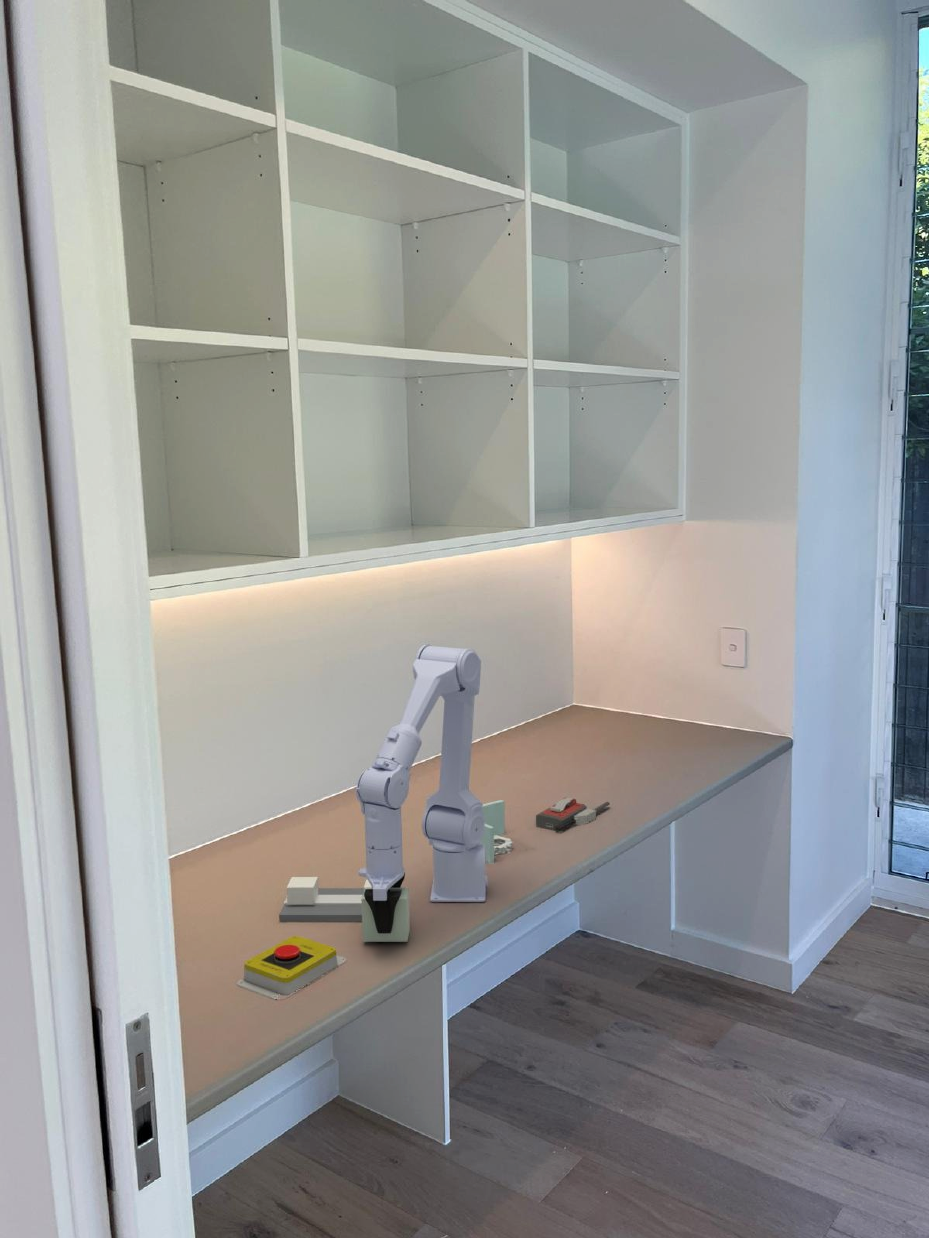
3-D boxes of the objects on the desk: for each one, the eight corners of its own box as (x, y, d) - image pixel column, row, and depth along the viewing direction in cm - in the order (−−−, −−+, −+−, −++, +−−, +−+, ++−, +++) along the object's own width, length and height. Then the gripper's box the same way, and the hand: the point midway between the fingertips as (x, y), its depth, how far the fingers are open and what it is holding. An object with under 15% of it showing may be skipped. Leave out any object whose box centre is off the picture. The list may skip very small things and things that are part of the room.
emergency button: (232, 959, 154) (303, 921, 166) (234, 987, 154) (304, 947, 167) (279, 975, 149) (348, 935, 161) (280, 1005, 149) (349, 963, 161)
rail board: (400, 894, 185) (399, 869, 185) (393, 921, 174) (393, 895, 174) (292, 894, 186) (291, 869, 185) (279, 921, 175) (278, 895, 174)
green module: (409, 928, 170) (408, 886, 169) (407, 941, 166) (406, 898, 165) (366, 928, 170) (365, 886, 169) (362, 941, 166) (361, 898, 165)
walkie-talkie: (568, 837, 213) (612, 810, 229) (568, 816, 212) (613, 790, 229) (530, 829, 218) (577, 803, 234) (530, 809, 217) (577, 784, 234)
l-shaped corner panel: (490, 866, 199) (490, 828, 198) (453, 848, 209) (453, 811, 208) (539, 852, 206) (539, 815, 205) (501, 835, 216) (501, 799, 215)
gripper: (364, 827, 173) (366, 905, 175) (352, 860, 159) (354, 946, 161) (407, 827, 173) (409, 905, 175) (398, 860, 158) (401, 946, 160)
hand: (386, 925), depth 168 cm, fingers closed on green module, 4 cm apart
